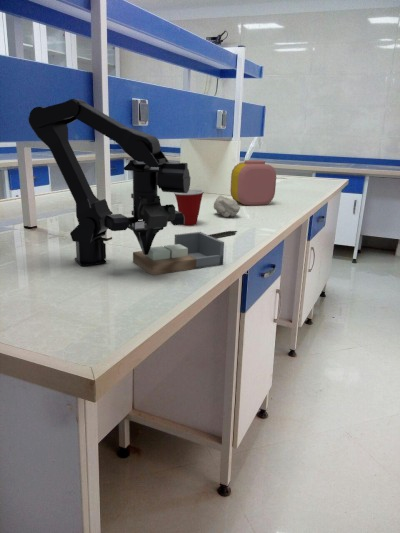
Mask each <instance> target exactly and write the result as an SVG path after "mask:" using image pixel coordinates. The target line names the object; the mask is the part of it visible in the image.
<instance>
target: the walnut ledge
mask: <svg viewBox="0 0 400 533" xmlns="http://www.w3.org/2000/svg"><path fill="white" fill-rule="evenodd" d="M132 262H133V263H135V264H136V265H137V266H139V267H140V268H142V269H143V270H144V271H146V272H147V273H149V274H150V275H152V276H155V275H161V274H168V273H175V272H176V271H177V272H181V271H191V270H195V269H196V262H197V259H196V258H194V257H192V256H190V255H188V256H183V257H176V258H171V257H170V258H168V259H161V260H152V259H150V258H149V257H147V256H146V255H144V254H143V252H142V250H139V251H132Z"/></svg>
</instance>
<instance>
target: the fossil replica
mask: <svg viewBox="0 0 400 533" xmlns="http://www.w3.org/2000/svg"><path fill="white" fill-rule="evenodd" d="M213 209H214V210H215V211H216V213H217V214H218V215H219V216H220V215H221V216H222V217H225V218H229V217H231V218H232V217H235V216H237V214H238V213H239V211H240V210H241V206H240V205H238V202H237V201H235V200H234V199H233V198H230V197H225V196H223V195H218V196H217V197H216V199H215V200H214V203H213Z"/></svg>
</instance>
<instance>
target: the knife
mask: <svg viewBox="0 0 400 533" xmlns="http://www.w3.org/2000/svg"><path fill="white" fill-rule="evenodd" d="M237 232H238V231H237V230H228V231H227V230H226V231H223V232H217V233H212V234H208V235H209V236H211V237H213V238H216V239H217V238H220V237H222V238H223V237H226V236H232V235H235V234H236V233H237Z"/></svg>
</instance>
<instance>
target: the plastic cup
mask: <svg viewBox="0 0 400 533" xmlns="http://www.w3.org/2000/svg"><path fill="white" fill-rule="evenodd" d="M204 192H205V190H203V189H192V188H191V189H190V188H189V191H188V193H173V195H174V197H175V199H176V204H177V209H178V210H177V211H179V212H181V213H183V214H184V217H185V224H184V225H183V226H195V225H197V223H198V219H199V218H198V217H199V214H200V208H201V203H202V199H203V198H202V197H203V195H204Z"/></svg>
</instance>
